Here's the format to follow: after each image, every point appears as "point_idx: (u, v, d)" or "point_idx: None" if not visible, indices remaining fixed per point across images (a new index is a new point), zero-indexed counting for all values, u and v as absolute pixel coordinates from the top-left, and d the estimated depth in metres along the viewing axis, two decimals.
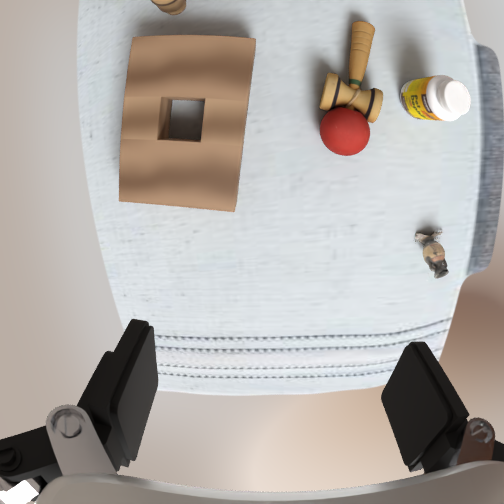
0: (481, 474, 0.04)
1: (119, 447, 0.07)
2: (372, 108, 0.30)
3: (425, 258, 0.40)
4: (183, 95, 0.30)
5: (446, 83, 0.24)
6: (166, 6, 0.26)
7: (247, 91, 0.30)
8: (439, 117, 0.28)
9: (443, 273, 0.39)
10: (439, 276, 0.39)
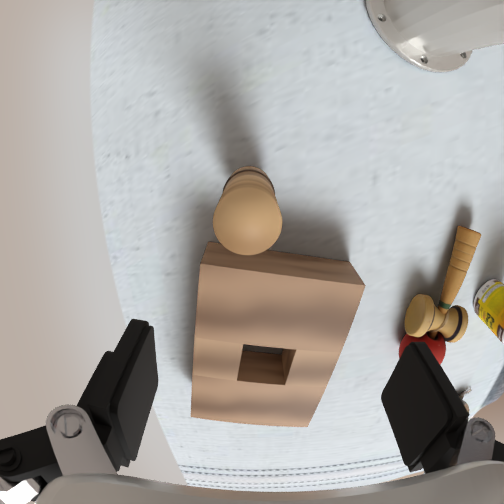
0: (481, 474, 0.04)
1: (119, 447, 0.07)
2: (455, 338, 0.29)
3: None
4: (271, 345, 0.28)
5: None
6: None
7: (343, 343, 0.28)
8: None
9: None
10: None
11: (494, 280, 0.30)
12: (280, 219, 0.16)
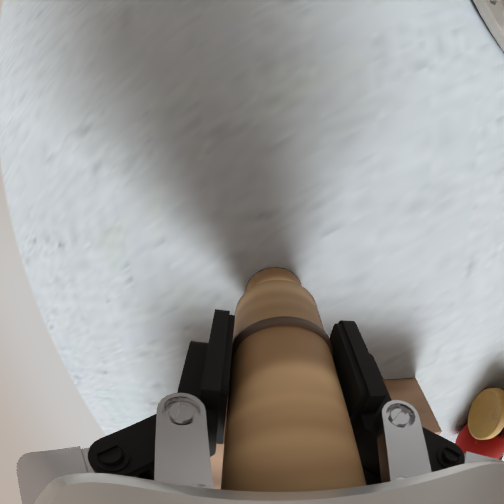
0: (481, 474, 0.04)
1: (217, 430, 0.08)
2: None
3: None
4: None
5: None
6: None
7: None
8: None
9: None
10: None
11: None
12: None
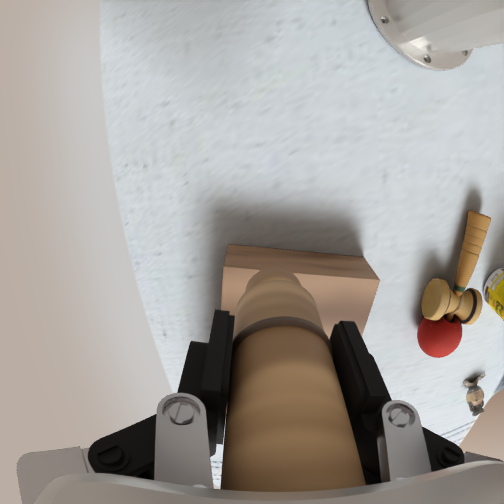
0: (481, 474, 0.04)
1: (217, 430, 0.08)
2: (471, 320, 0.29)
3: (468, 401, 0.38)
4: None
5: None
6: None
7: None
8: None
9: None
10: None
11: (502, 269, 0.31)
12: None
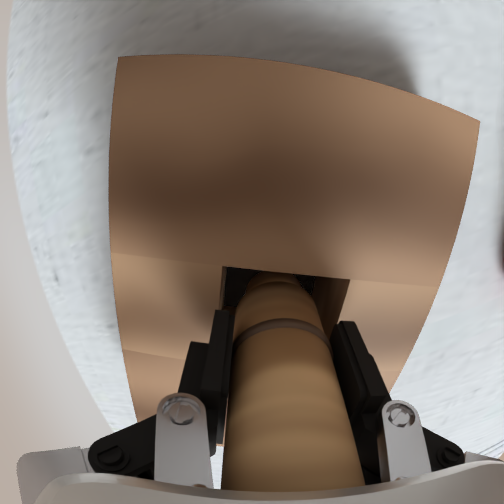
0: (481, 474, 0.04)
1: (217, 430, 0.08)
2: None
3: None
4: (290, 268, 0.12)
5: None
6: None
7: (445, 264, 0.12)
8: None
9: None
10: None
11: None
12: None
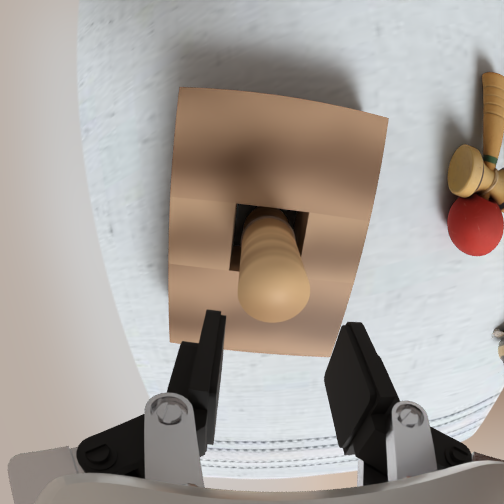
0: (481, 474, 0.04)
1: (206, 430, 0.08)
2: None
3: (501, 356, 0.30)
4: (274, 205, 0.21)
5: None
6: None
7: (371, 205, 0.21)
8: None
9: None
10: None
11: None
12: (308, 288, 0.15)
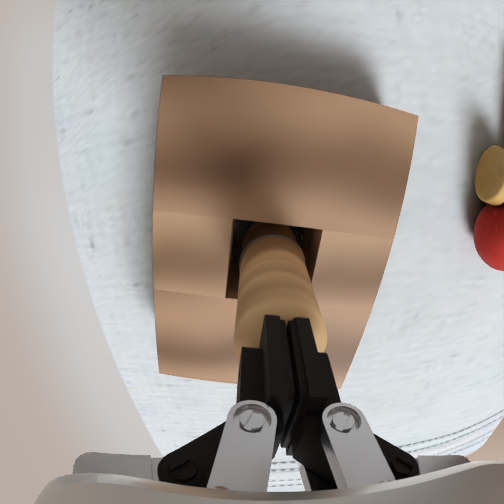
0: (481, 474, 0.04)
1: None
2: None
3: None
4: (279, 221, 0.17)
5: None
6: None
7: (396, 221, 0.17)
8: None
9: None
10: None
11: None
12: (325, 337, 0.11)
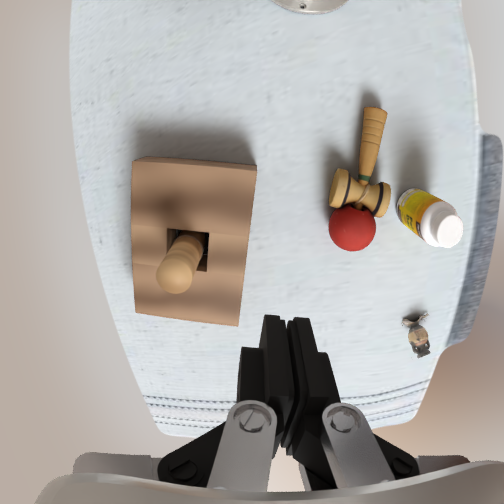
0: (481, 474, 0.04)
1: None
2: (380, 208, 0.34)
3: (410, 342, 0.45)
4: (188, 228, 0.35)
5: (441, 218, 0.29)
6: None
7: (249, 227, 0.35)
8: (430, 244, 0.33)
9: None
10: (422, 355, 0.44)
11: (415, 188, 0.37)
12: (190, 275, 0.30)
